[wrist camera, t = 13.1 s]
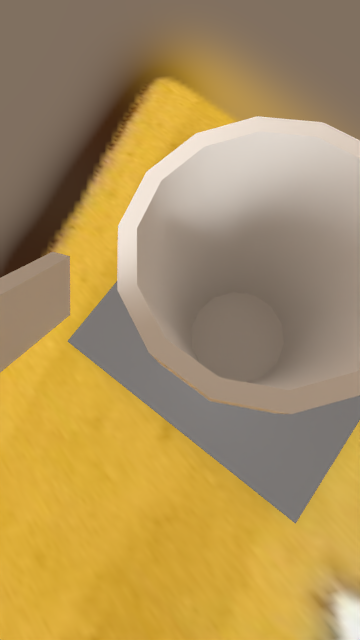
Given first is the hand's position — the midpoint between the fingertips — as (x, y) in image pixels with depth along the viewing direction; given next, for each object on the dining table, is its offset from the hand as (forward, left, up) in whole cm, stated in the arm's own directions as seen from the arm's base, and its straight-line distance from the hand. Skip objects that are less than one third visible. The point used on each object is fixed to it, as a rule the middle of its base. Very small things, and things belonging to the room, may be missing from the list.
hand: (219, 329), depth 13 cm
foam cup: (0, -2, -10) cm, 10 cm away
